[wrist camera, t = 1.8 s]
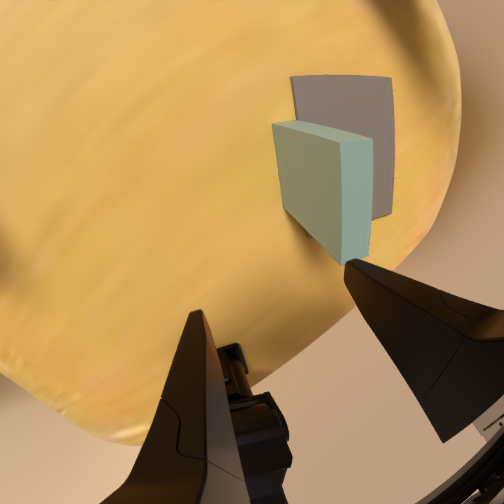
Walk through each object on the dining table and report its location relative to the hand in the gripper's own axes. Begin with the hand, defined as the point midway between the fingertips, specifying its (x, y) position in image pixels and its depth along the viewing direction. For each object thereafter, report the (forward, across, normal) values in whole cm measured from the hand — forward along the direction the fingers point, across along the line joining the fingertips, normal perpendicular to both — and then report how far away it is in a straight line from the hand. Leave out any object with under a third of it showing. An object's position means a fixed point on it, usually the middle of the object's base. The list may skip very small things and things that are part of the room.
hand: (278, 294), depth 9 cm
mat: (+13, -12, 0) cm, 18 cm away
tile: (+13, -6, 0) cm, 14 cm away
